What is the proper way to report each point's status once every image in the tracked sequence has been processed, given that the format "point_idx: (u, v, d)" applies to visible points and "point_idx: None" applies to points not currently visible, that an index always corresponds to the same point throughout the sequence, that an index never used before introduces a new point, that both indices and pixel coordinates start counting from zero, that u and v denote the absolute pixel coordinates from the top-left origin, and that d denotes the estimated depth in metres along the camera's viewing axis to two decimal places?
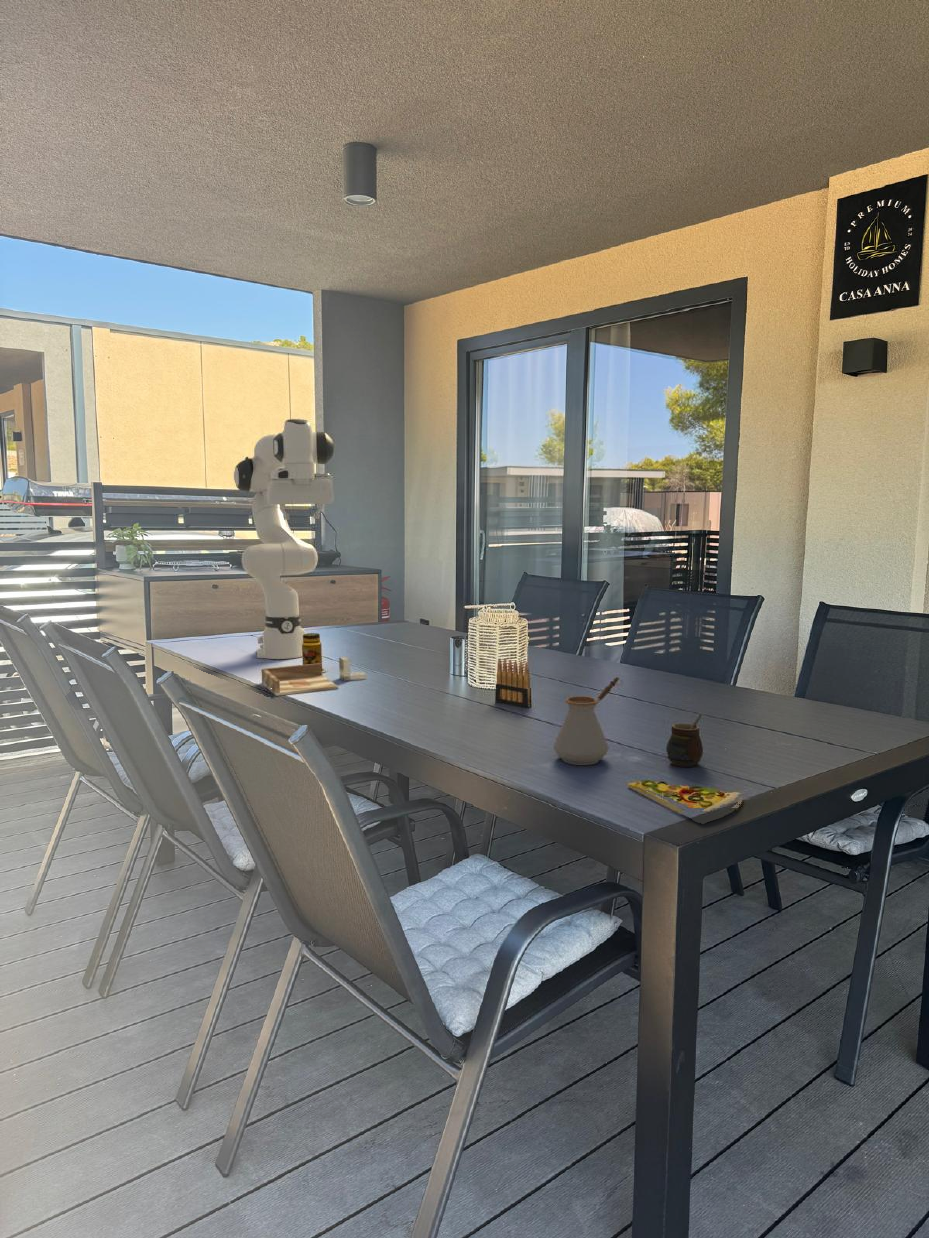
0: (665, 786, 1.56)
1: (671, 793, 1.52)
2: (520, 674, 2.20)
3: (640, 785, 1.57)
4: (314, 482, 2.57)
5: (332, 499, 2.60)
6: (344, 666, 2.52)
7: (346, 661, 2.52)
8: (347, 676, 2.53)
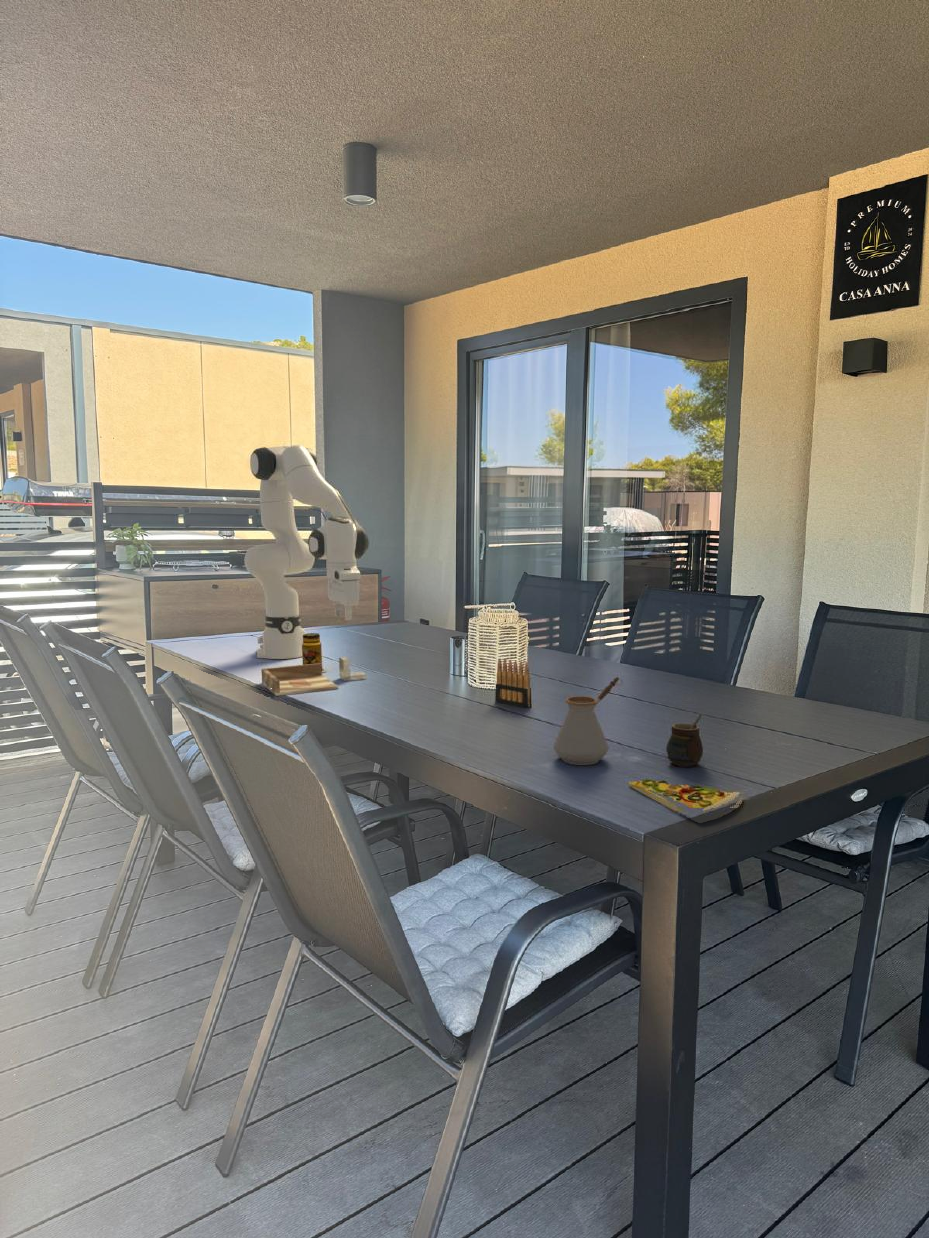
0: (666, 785, 1.57)
1: (671, 792, 1.52)
2: (520, 674, 2.20)
3: (641, 784, 1.58)
4: None
5: None
6: (344, 666, 2.52)
7: (346, 661, 2.52)
8: (347, 676, 2.53)
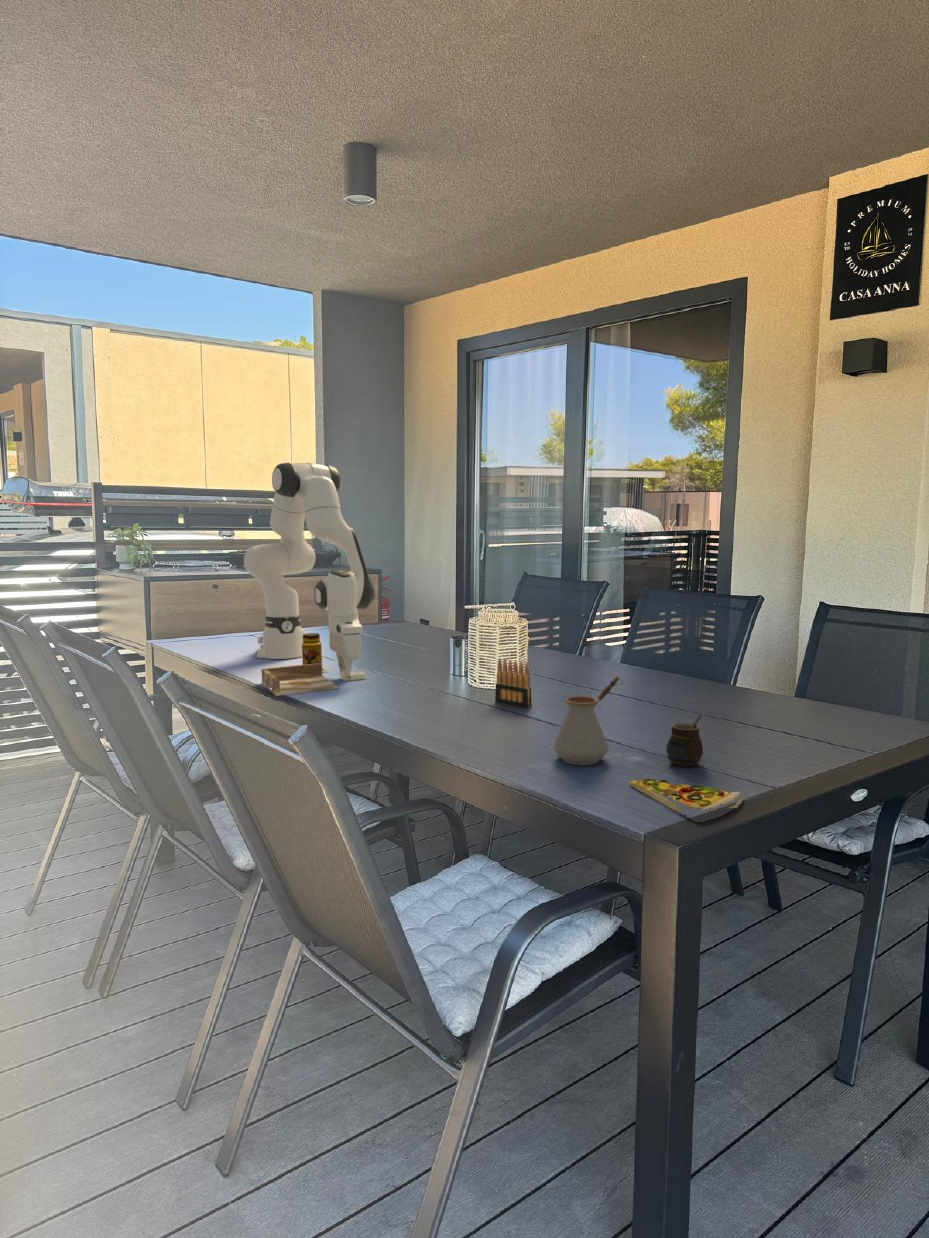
0: (666, 785, 1.57)
1: (671, 792, 1.53)
2: (520, 674, 2.20)
3: (641, 783, 1.58)
4: None
5: None
6: None
7: None
8: (347, 676, 2.53)
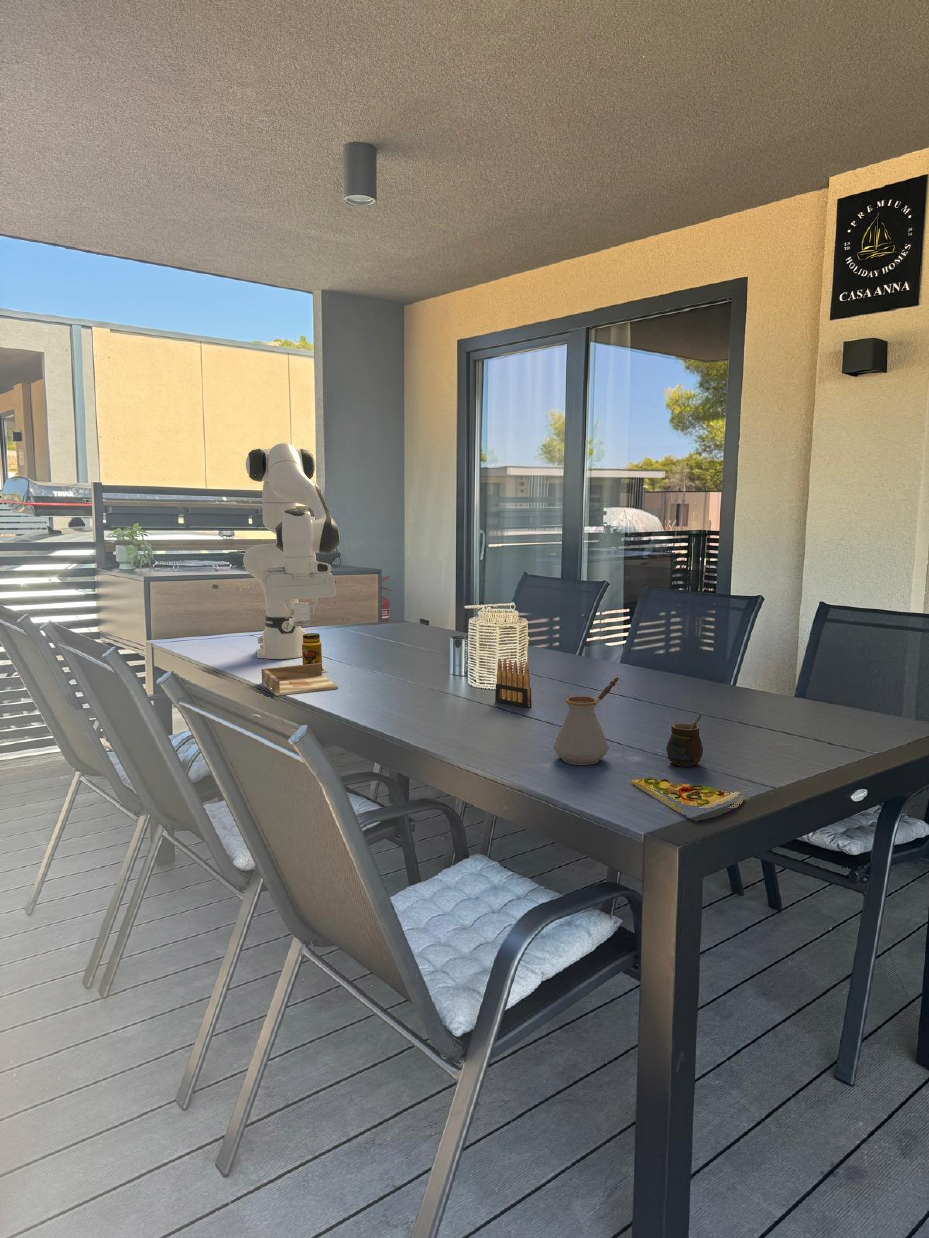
0: (667, 784, 1.58)
1: (671, 791, 1.53)
2: (520, 674, 2.20)
3: (642, 782, 1.59)
4: None
5: None
6: None
7: None
8: None
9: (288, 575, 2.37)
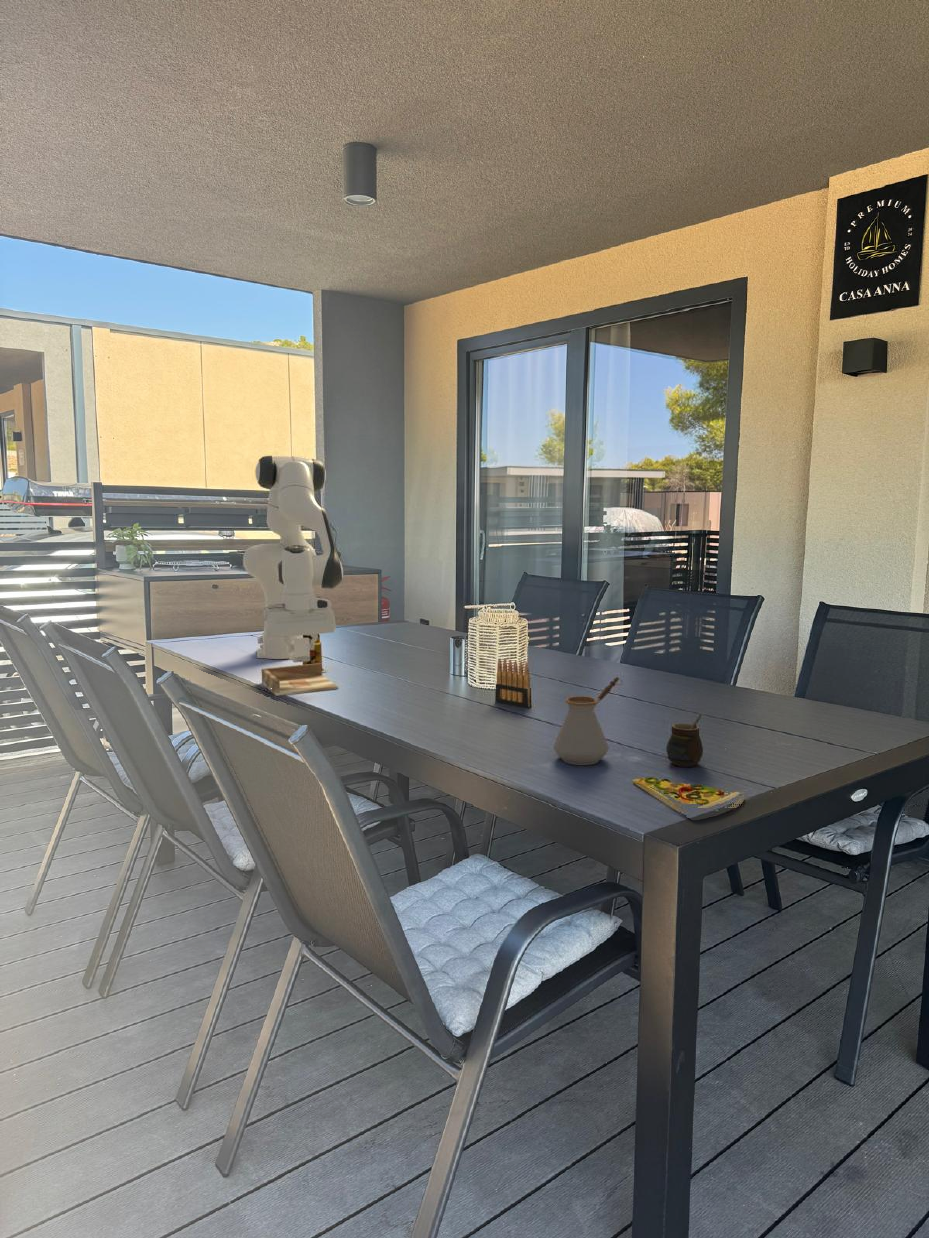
0: (668, 783, 1.58)
1: (671, 790, 1.54)
2: (520, 674, 2.20)
3: (643, 782, 1.60)
4: None
5: None
6: (308, 645, 2.43)
7: None
8: None
9: (288, 612, 2.38)
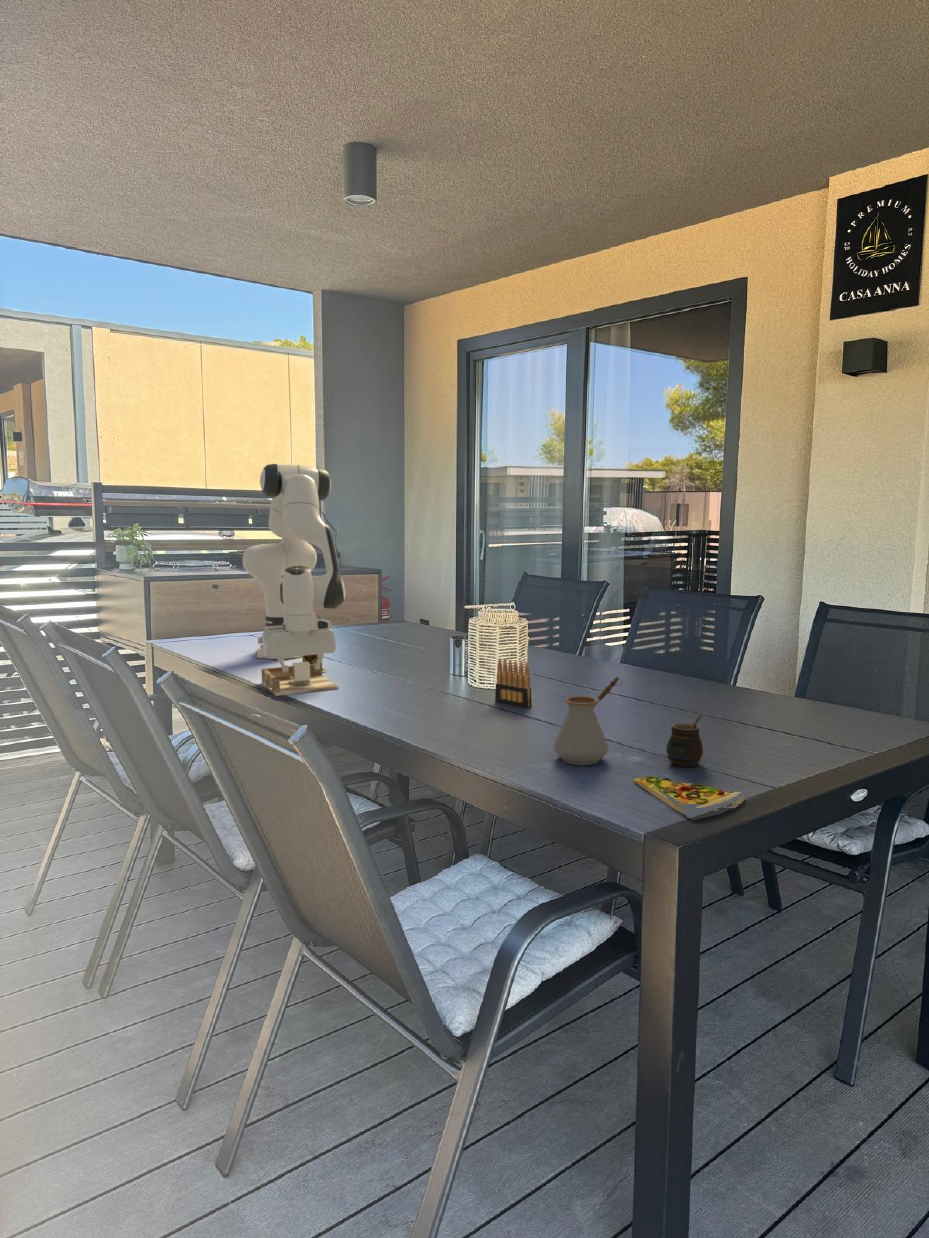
0: (668, 783, 1.58)
1: (671, 789, 1.54)
2: (520, 674, 2.20)
3: (644, 781, 1.60)
4: None
5: None
6: None
7: None
8: None
9: (288, 633, 2.39)
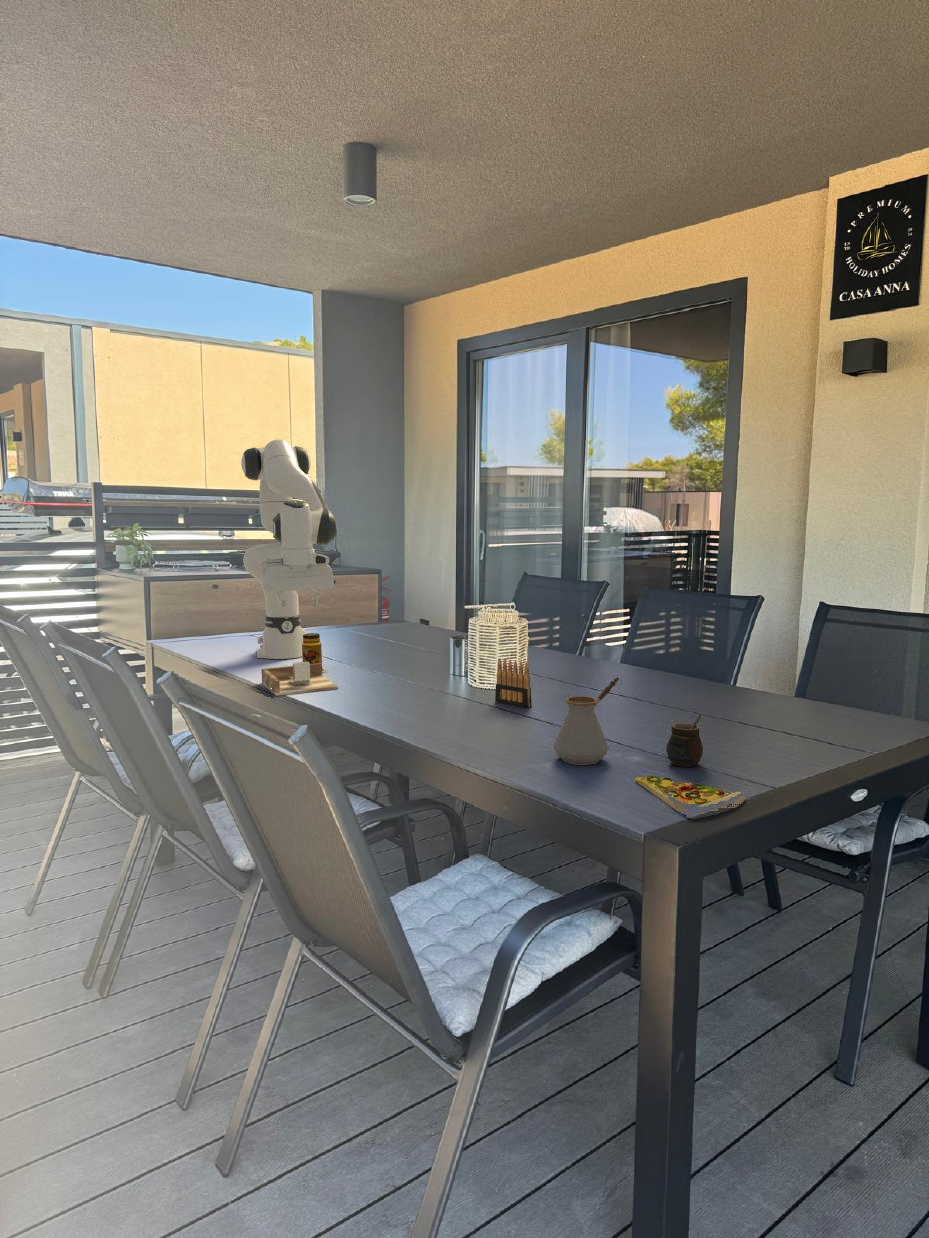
0: (669, 782, 1.59)
1: (671, 789, 1.54)
2: (520, 674, 2.20)
3: (645, 780, 1.60)
4: None
5: None
6: None
7: None
8: None
9: (286, 567, 2.38)
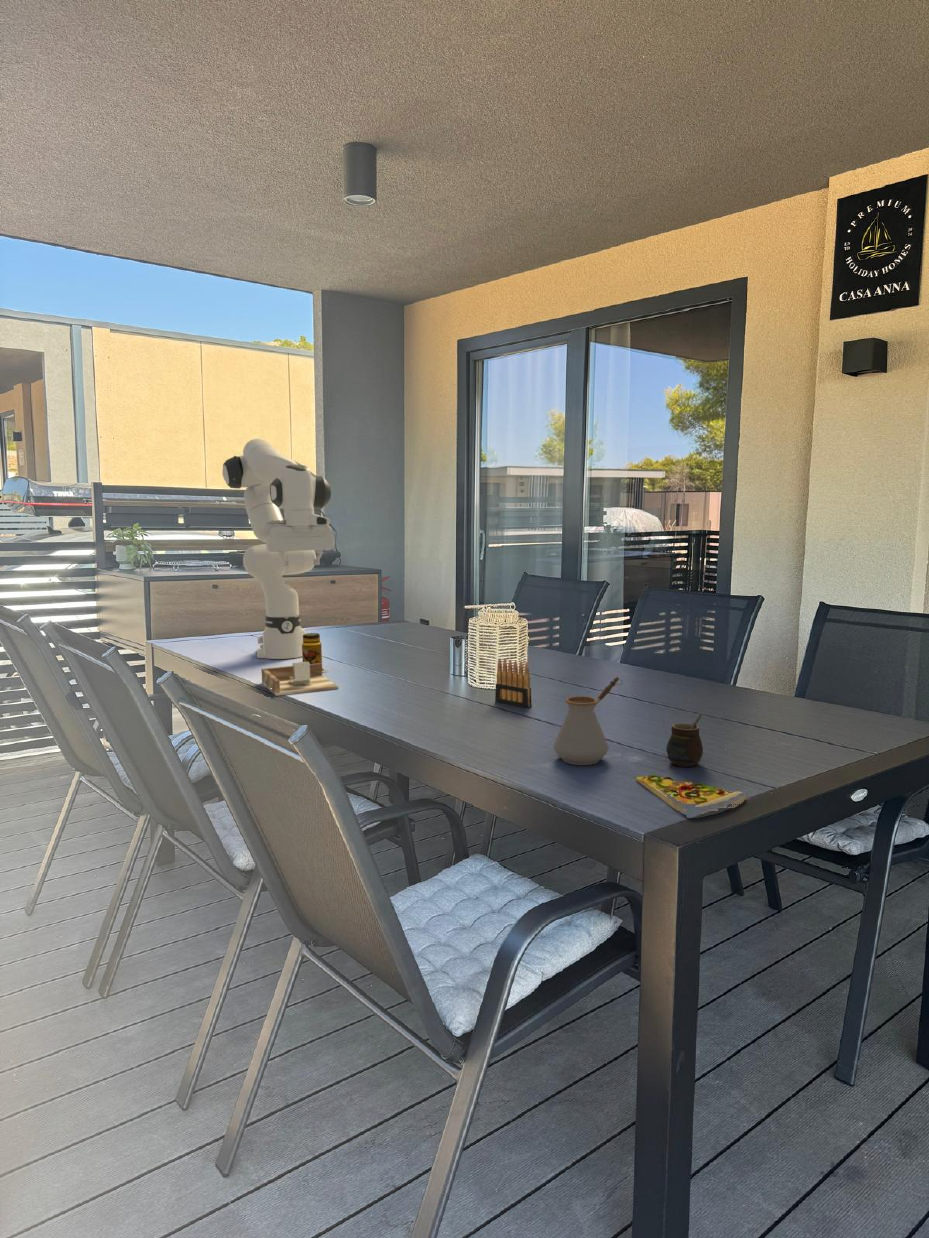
0: (670, 782, 1.59)
1: (671, 788, 1.55)
2: (520, 674, 2.20)
3: (646, 779, 1.61)
4: None
5: None
6: None
7: None
8: None
9: (289, 527, 2.50)
